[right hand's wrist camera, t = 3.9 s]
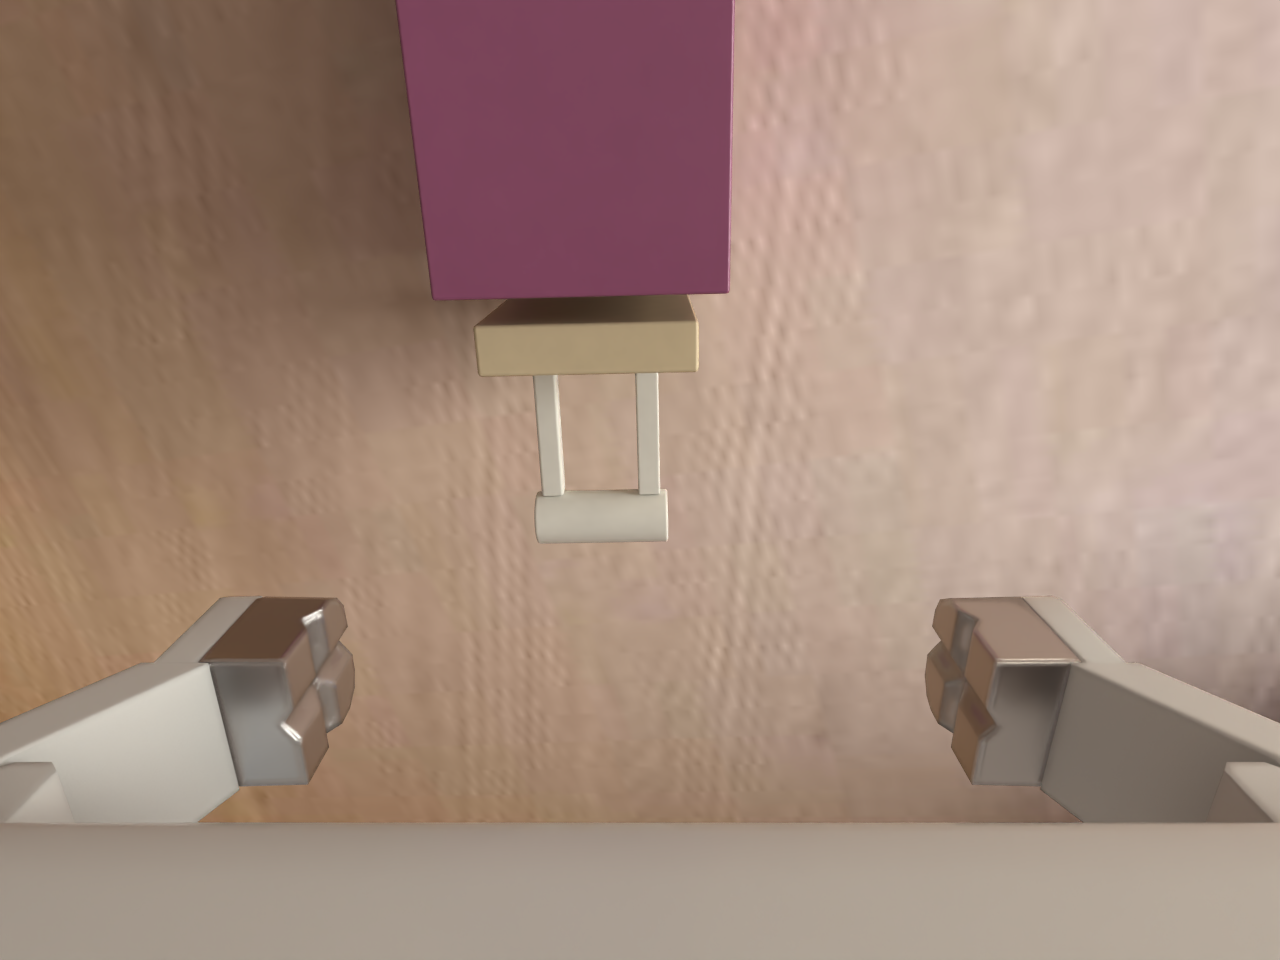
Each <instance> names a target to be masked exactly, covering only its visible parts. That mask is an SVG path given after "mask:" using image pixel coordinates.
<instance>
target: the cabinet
mask: <svg viewBox="0 0 1280 960" xmlns="http://www.w3.org/2000/svg"><path fill="white" fill-rule="evenodd" d="M395 2H396V10H397V18H398V26H399V34H400V42H401V50H402V58H403V67H404V75H405V83H406V91H407V99H408V107H409V115H410V123H411V131H412V139H413V147H414V155H415V164H416V172H417V180H418V188H419V196H420V204H421V212H422V220H423V228H424V236H425V244H426V252H427V261H428V269H429V277H430V285H431V293H432V298H433V300H435V301H440V300H480V299H521V298H562V297H603V296H644V295H685V294H726V293H729V291H730V243H731V186H732V128H733V71H734V14H735V0H395Z"/></svg>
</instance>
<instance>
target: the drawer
mask: <svg viewBox="0 0 1280 960" xmlns="http://www.w3.org/2000/svg"><path fill="white" fill-rule="evenodd" d="M473 330H474V339H475V349H476V358H477V368H478V374H479V376H481V377H495V376H533V385H534V397H535V410H536V423H537V435H538V448H539V461H540V473H541V486H542V491H540V492H538V493H537V495H536V500H535V512H534V519H535V533H536V538H537V541H538V543H540V544H547V543H603V542H659V541H667V540H668V503H667V490H666V489H660V458H659V399H658V373H673V372H696V371H698V368H699V324H698V321H697V318H696V315H695V312H694V309H693V307H692V304H691V301H690V298H689V295H688V294H685V295H644V296H603V297H562V298H521V299H508V300H506V301H505V302H504V303H503V304H501V305H500V306H499V307H498V308H497V309H495V310H494V311H493V312H492V313H490V314H489V315H488V316H487V317H485V318H484V319H483V320H482V321H481V322H479V323H478V324H477V325H476V326H474V329H473ZM629 373H635V384H636V420H637V455H638V489H630V490H579V491H564V490H565V477H564V462H563V447H562V432H561V417H560V402H559V387H558V375H584V374H629Z"/></svg>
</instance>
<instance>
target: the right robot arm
mask: <svg viewBox="0 0 1280 960" xmlns="http://www.w3.org/2000/svg"><path fill="white" fill-rule="evenodd" d="M347 627H348V625H347V620H346V615H345V610H344V606H343V604H342V603H341V602H340V601H339V600H338V599H337V598H318V597H262V596H231V597H223V598H219V599H218V600H217V601H216V602H215V603H214V604H213V605H212V606H211V607H210V608H209V609H208V610H207V611H206V612H205V613H204V614H203V615H202V616H201V617H200V618H199V619H198V620H197V621H196V622H195V623H194V624H193V625H192V626H191V627H190V628H189V629H188V630H187V631H186V632H185V633H183V634H182V635H181V636H180V637H179V638H178V639H177V640H176V641H175V642H174V643H173V644H172V645H171V646H170V647H169V648H168V649H167V650H166V651H165V652H164V653H163V654H162V655H161V656H160V657H159V658H158V659H157V660H156V661H155V662H154V663H140V664H137V665H135V666H133V667H130V668H128V669H125V670H123V671H121V672H118V673H116V674H114V675H111V676H109V677H107V678H104V679H102V680H100V681H97V682H95V683H93V684H90V685H88V686H86V687H83V688H81V689H79V690H76V691H74V692H72V693H69V694H67V695H65V696H62V697H60V698H58V699H55V700H53V701H51V702H48V703H46V704H44V705H41V706H39V707H37V708H34V709H32V710H30V711H27V712H25V713H23V714H20V715H18V716H16V717H13V718H11V719H9V720H6V721H4V722H2V723H0V960H1280V723H1278V722H1276V721H1273V720H1271V719H1269V718H1266V717H1264V716H1262V715H1259V714H1257V713H1255V712H1252V711H1250V710H1248V709H1245V708H1243V707H1241V706H1238V705H1236V704H1234V703H1231V702H1229V701H1227V700H1224V699H1222V698H1220V697H1217V696H1215V695H1213V694H1210V693H1208V692H1206V691H1203V690H1201V689H1199V688H1196V687H1194V686H1192V685H1189V684H1187V683H1185V682H1182V681H1180V680H1178V679H1175V678H1173V677H1171V676H1168V675H1166V674H1164V673H1161V672H1159V671H1157V670H1154V669H1152V668H1150V667H1147V666H1145V665H1143V664H1140V663H1126V662H1125V661H1124V660H1123V659H1122V658H1121V657H1120V656H1119V655H1118V654H1117V653H1116V652H1115V651H1114V650H1113V649H1112V648H1111V647H1110V646H1109V645H1108V644H1107V643H1106V642H1105V641H1104V640H1103V639H1102V638H1101V637H1100V636H1099V635H1098V634H1097V633H1096V632H1095V631H1094V630H1093V629H1092V628H1090V627H1089V626H1088V625H1087V624H1086V623H1085V622H1084V621H1083V620H1082V619H1081V618H1080V617H1079V616H1078V615H1077V614H1076V613H1075V612H1074V611H1073V610H1072V609H1071V608H1070V607H1069V606H1068V605H1067V604H1066V603H1065V602H1064V601H1063V600H1062V599H1060V598H1057V597H1054V596H1029V597H986V598H948V599H940V601H939V603H938V605H937V607H936V609H935V614H934V619H933V625H932V627H933V628H934V630H935V632H936V633H937V635H938V636H939V638H940V639H941V641H940V642H939V643H938V644H937V645H936V646H935V647H934V648H933V649H932V650H931V651H930V653H929V654H928V655H927V663H926V671H925V683H926V694H927V699H928V702H929V705H930V708H931V711H932V713H933V715H934V717H935V719H936V721H937V723H938V724H940V725H941V726H943V727H944V728H946V729H947V730H949V731H950V732H952V733H953V739H952V744H951V748H952V750H953V752H954V753H955V755H956V757H957V759H958V760H959V762H960V764H961V766H962V768H963V769H964V771H965V773H966V775H967V776H968V778H969V780H970V782H971V784H972V785H1008V786H1041V790H1042V791H1043V792H1044V793H1046V794H1047V795H1048V796H1050V797H1051V798H1052V799H1054V800H1055V801H1056V802H1057V803H1059V804H1060V805H1061V806H1063V807H1064V808H1065V809H1067V810H1068V811H1069V812H1070V813H1072V814H1073V815H1074V816H1076V817H1077V818H1078V819H1080V820H1081V821H1082V822H1083V823H197V822H198V821H199V820H201V819H202V818H203V817H205V816H206V815H207V814H209V813H210V812H211V811H212V810H214V809H215V808H216V807H218V806H219V805H220V804H222V803H223V802H224V801H225V800H227V799H228V798H229V797H231V796H232V795H233V794H235V793H236V792H237V791H238V790H239V786H270V785H306V784H309V782H310V780H311V778H312V777H313V775H314V773H315V771H316V769H317V768H318V766H319V764H320V762H321V760H322V759H323V757H324V755H325V753H326V752H327V750H328V748H329V744H328V739H327V733H328V732H330V731H331V730H333V729H334V728H336V727H337V726H339V725H340V724H342V722H343V721H344V719H345V717H346V715H347V713H348V711H349V709H350V705H351V701H352V697H353V692H354V688H355V668H354V662H353V655H352V654H351V653H350V651H349V650H348V649H347V648H346V647H345V646H344V645H343V644H342V643H341V642H340V641H339V639H340V638H341V636H342V635H343V633H344V631H345V630H346V628H347Z"/></svg>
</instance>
